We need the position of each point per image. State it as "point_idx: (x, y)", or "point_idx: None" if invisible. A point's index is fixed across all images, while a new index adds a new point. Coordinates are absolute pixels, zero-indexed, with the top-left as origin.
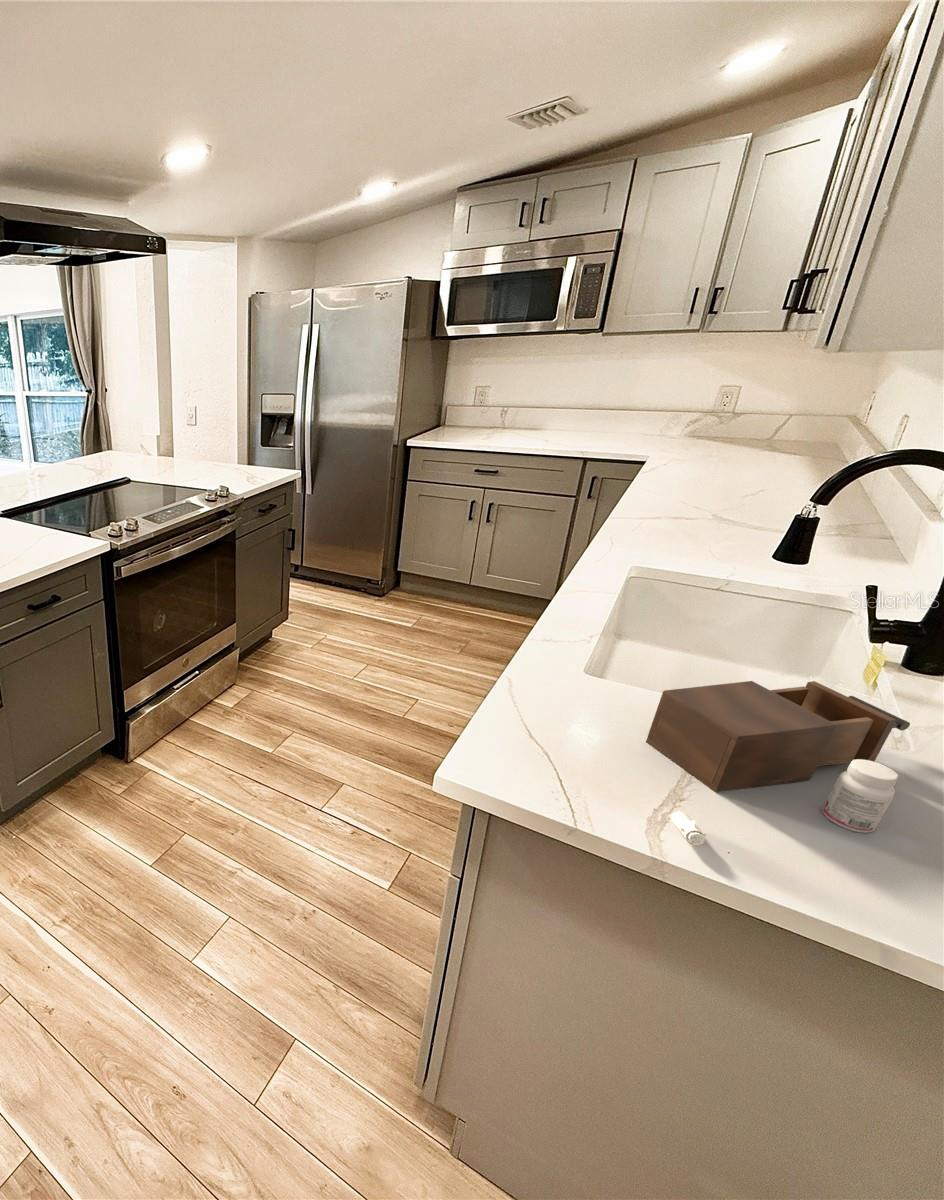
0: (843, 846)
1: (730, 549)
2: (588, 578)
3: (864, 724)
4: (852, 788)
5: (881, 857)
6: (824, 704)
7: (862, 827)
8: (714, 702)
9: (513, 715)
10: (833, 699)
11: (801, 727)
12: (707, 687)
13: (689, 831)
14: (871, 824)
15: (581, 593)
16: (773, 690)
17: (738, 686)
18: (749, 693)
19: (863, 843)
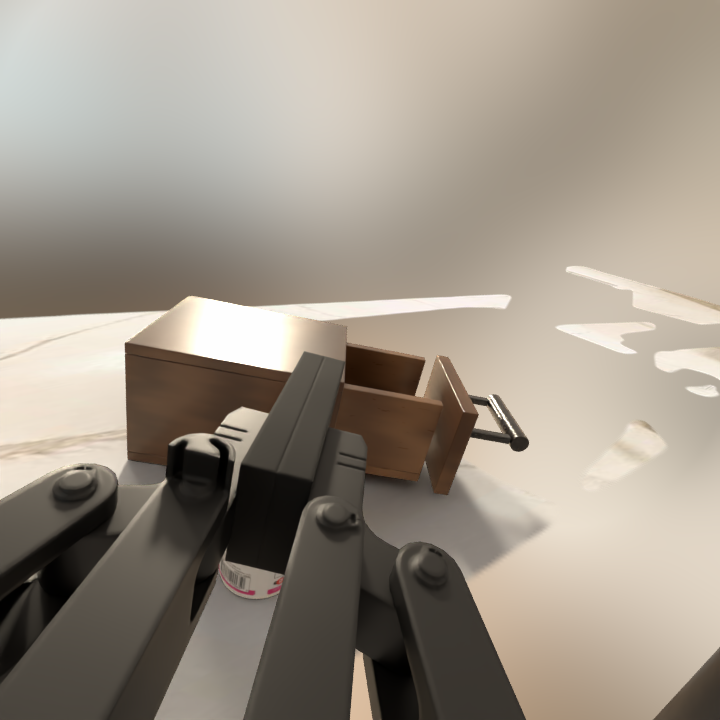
0: None
1: (603, 325)
2: (442, 299)
3: (426, 409)
4: None
5: None
6: (436, 389)
7: (234, 583)
8: (223, 318)
9: (89, 324)
10: (442, 379)
11: (272, 367)
12: (262, 311)
13: None
14: (247, 581)
15: (415, 302)
16: (368, 347)
17: (310, 322)
18: (306, 329)
19: (200, 619)
